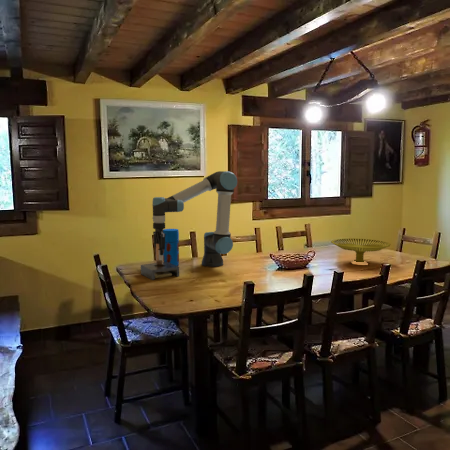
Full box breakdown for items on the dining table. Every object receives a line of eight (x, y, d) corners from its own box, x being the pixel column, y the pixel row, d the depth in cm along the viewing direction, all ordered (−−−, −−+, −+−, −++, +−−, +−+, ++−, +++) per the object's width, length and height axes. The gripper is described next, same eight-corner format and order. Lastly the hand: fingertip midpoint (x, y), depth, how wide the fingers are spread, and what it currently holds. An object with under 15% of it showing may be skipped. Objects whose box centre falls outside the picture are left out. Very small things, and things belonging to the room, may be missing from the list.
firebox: (166, 270, 291) (166, 261, 290) (179, 276, 276) (179, 266, 275) (140, 274, 281) (140, 264, 280) (152, 280, 266) (152, 270, 265)
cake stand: (318, 263, 315) (319, 242, 313) (350, 255, 342) (350, 236, 340) (370, 273, 286) (371, 250, 284) (400, 264, 313) (401, 243, 311)
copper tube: (161, 271, 281) (160, 243, 279) (164, 272, 278) (163, 243, 275) (155, 271, 279) (155, 243, 276) (158, 273, 275) (157, 244, 273)
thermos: (176, 267, 299) (175, 231, 296) (161, 267, 301) (160, 230, 298) (180, 264, 310) (180, 228, 307) (166, 263, 312) (165, 228, 309)
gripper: (148, 221, 279) (148, 257, 282) (159, 224, 265) (159, 262, 268) (159, 220, 283) (159, 256, 286) (170, 223, 269) (170, 261, 272)
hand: (159, 259), depth 277 cm, fingers closed on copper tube, 3 cm apart
